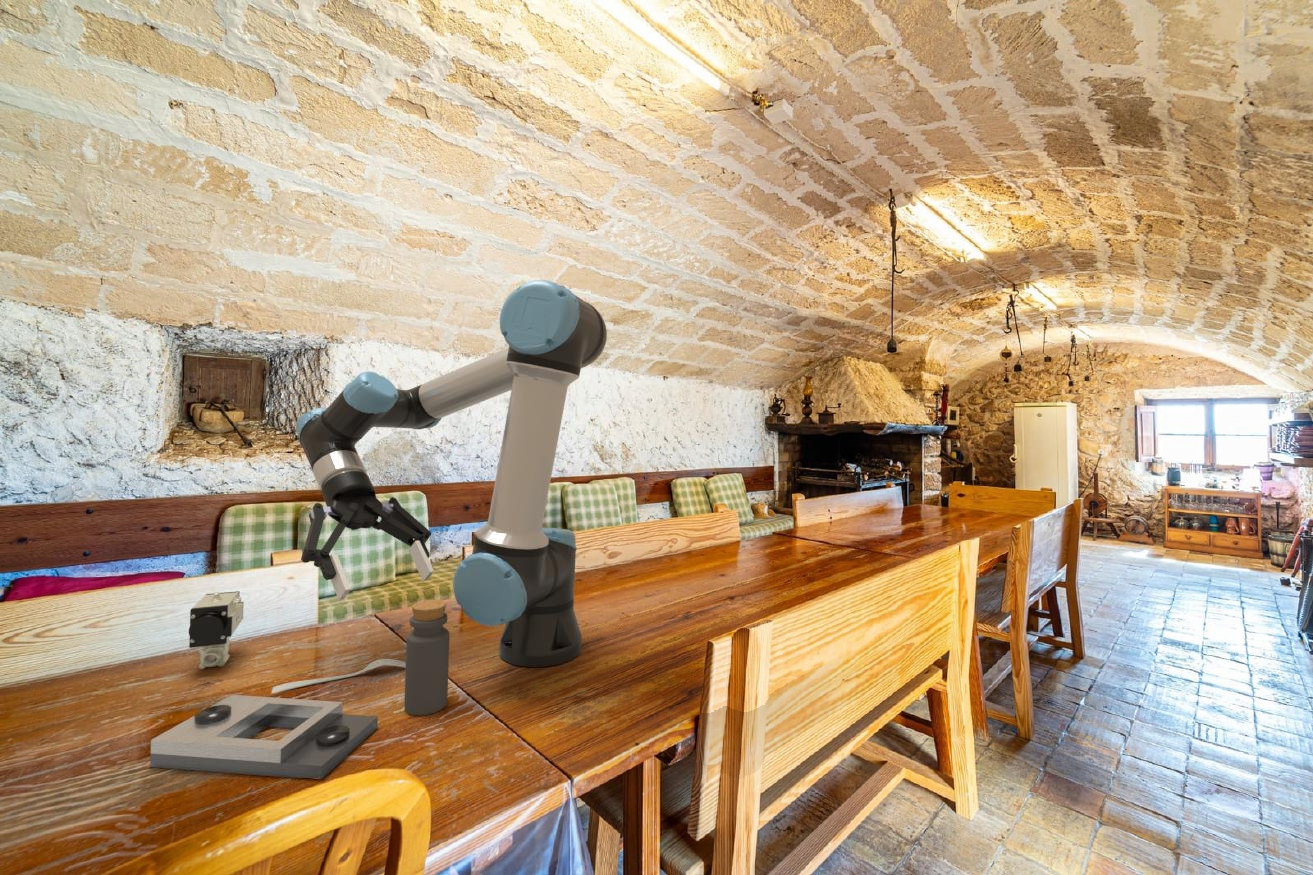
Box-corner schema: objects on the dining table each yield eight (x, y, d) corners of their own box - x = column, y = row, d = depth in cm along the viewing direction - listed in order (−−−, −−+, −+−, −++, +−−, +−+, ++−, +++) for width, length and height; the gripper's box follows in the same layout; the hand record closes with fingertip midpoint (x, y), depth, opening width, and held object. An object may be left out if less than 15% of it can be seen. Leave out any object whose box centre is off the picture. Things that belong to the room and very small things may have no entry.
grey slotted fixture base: (377, 728, 72) (378, 700, 72) (321, 780, 61) (322, 747, 61) (230, 717, 73) (231, 690, 73) (150, 767, 62) (151, 734, 62)
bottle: (412, 696, 81) (416, 598, 81) (452, 695, 81) (455, 598, 81) (397, 716, 75) (401, 610, 75) (440, 715, 76) (443, 610, 76)
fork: (270, 704, 83) (268, 687, 82) (416, 665, 93) (414, 649, 93) (267, 712, 80) (265, 694, 80) (417, 671, 90) (416, 655, 90)
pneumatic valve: (185, 681, 83) (187, 605, 83) (206, 653, 94) (208, 585, 94) (229, 674, 86) (232, 600, 86) (245, 648, 96) (247, 582, 96)
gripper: (403, 492, 104) (448, 582, 96) (253, 502, 83) (293, 618, 75) (420, 466, 101) (467, 557, 93) (268, 471, 81) (312, 588, 72)
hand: (389, 585), depth 84 cm, fingers open, 13 cm apart
